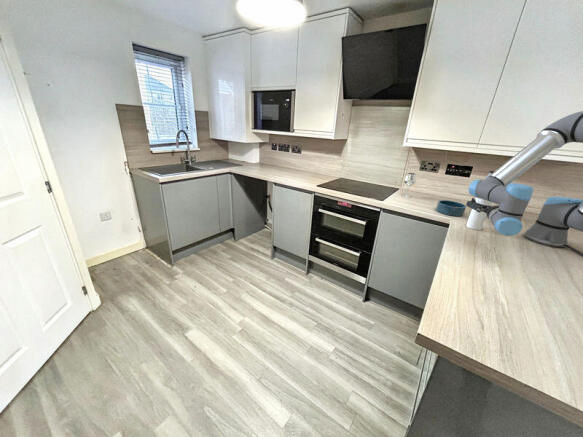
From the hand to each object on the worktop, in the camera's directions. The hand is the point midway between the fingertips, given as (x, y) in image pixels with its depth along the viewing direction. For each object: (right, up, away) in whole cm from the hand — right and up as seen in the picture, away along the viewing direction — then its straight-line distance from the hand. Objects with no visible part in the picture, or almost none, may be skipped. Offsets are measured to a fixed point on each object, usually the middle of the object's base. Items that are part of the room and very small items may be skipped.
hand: (488, 202), depth 119 cm
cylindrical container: (+3, -13, +14) cm, 19 cm away
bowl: (+4, -4, +36) cm, 37 cm away
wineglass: (-8, +10, +69) cm, 70 cm away
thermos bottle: (+24, -5, +36) cm, 44 cm away
